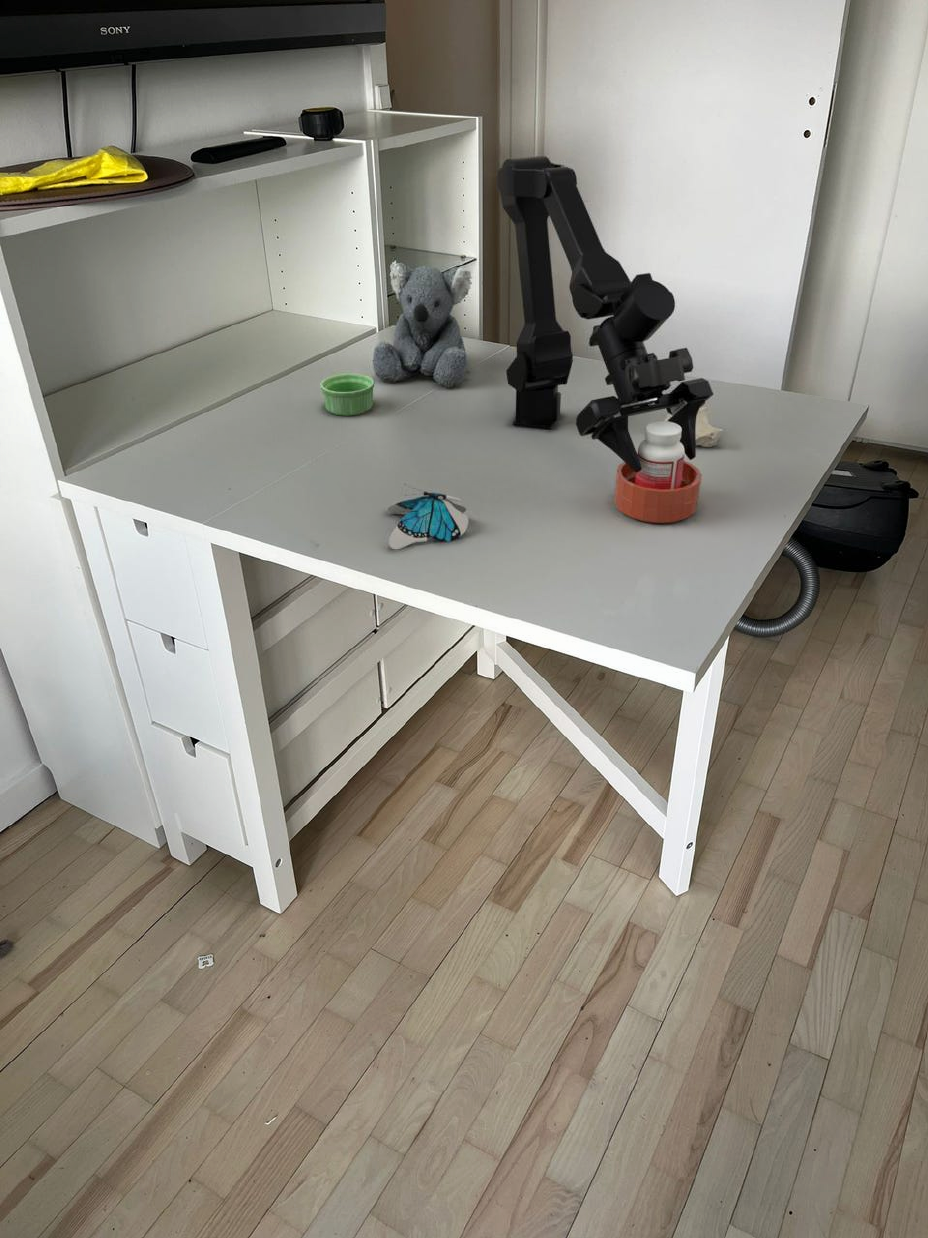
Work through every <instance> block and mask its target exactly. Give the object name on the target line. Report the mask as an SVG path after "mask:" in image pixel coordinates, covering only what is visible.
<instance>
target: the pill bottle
mask: <svg viewBox="0 0 928 1238" xmlns="http://www.w3.org/2000/svg"><path fill="white" fill-rule="evenodd" d="M644 432H645V433H644V434H645V435H644V438H645V439H643V440H642V441H640V443H639V444H638V448H637V454H638V457H639V460H640V464H641V468H642V469H641V471H640V472H637V473H636V475H635V484H636V485H638V486H642V487H646V488H651V489H659V490H664V489H677V488H680V487H681V479H682V470H683V462H684V461H685V450H684V446H683V445H682V443H681V442H679V441H680V438H681V432H682V429H681V427H680V426H679V425H678V424H676V423H673V422H668V421H664V420H657V421H653V422H650V423H648V424H647V425H646V426H645V431H644Z"/></svg>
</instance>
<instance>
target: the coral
mask: <svg viewBox="0 0 928 1238" xmlns="http://www.w3.org/2000/svg"><path fill="white" fill-rule="evenodd" d="M709 415H710V412H709V407H706V406H702V407H700V408H699V411H698V413H697V417H696V446H701V447H703V448H712V447H713V446H716V444H717V441H718V440H719V438H720V436H721V434H722V433H723V430H722V429H721V428H718V427H714V426H712V425H711V424H710V423H709V417H710V416H709ZM672 416H673V415H671V414H669V413H668V412H667V415H666V417H665V419H664V420H663V421H668V420H669V419H670V418H671V417H672Z"/></svg>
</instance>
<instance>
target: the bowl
mask: <svg viewBox="0 0 928 1238" xmlns="http://www.w3.org/2000/svg"><path fill="white" fill-rule="evenodd" d="M635 475H636V472H635V471H634V470H633V469H631V468H630V467H629V466H628V465H627V464H626V463H625V462H624V461H622V462H621V463H620V464H618V466H617V469H616V473H615V485H614V486H615V487H614V495H613V497H614V498H613V502H614V505H615V507H616V509H618V511H620V512H621V513H622V514H624V515H626V516H627V517H629V518H631V519H634V520H637V521H640V522H644V523H650V524H670V523H675V522H679V521H683V520H685V519H688V518H690V517H691V516H692V515H694V513H696V511H697V508H698V505H699V497H700V491H701V484H702V473H701V470H700V469H699V468H697V467H696V466H695V464H693V463H691V462H688V461H686V460H684V462H683V470H682V479H681V487H680V488H677V489H664V490H659V489H651V488H646V487H642V486H638V485H636V484H635Z"/></svg>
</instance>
